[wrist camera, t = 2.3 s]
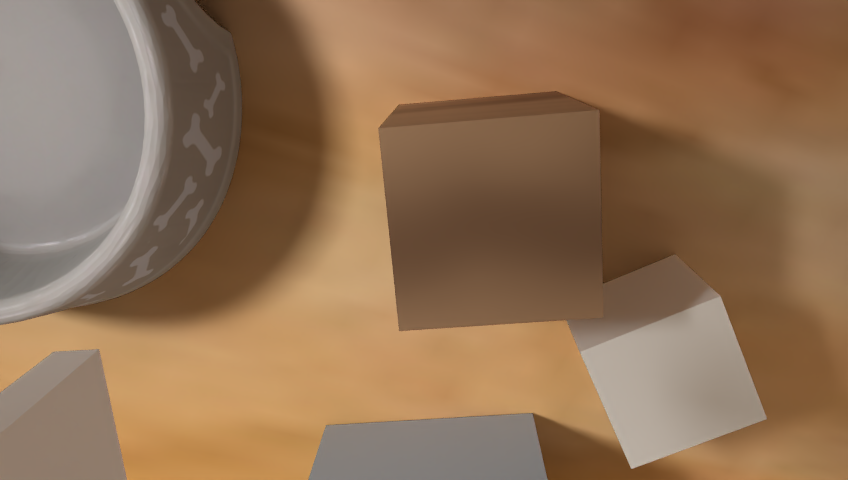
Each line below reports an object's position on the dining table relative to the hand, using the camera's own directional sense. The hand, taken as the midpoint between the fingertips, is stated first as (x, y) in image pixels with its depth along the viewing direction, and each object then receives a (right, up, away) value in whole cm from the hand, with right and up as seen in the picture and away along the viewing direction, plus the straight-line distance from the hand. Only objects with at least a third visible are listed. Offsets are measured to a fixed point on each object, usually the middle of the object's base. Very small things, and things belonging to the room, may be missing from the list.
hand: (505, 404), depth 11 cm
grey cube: (+8, -1, +18) cm, 19 cm away
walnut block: (+1, +5, +16) cm, 17 cm away
